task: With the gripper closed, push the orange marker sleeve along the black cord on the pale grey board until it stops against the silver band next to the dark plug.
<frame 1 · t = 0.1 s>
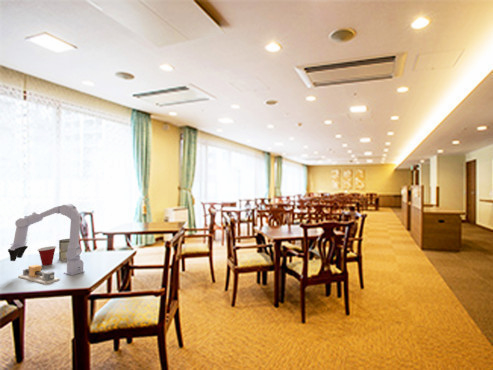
hand: (16, 259, 169), 10 cm above the table, tool pointing down, fingers open, 7 cm apart
cord board: (40, 279, 164), on the table
coffee can: (66, 258, 212), on the table
plastic cup: (46, 264, 195), on the table
marker sleeve: (34, 270, 167), point 4 cm above the table, slide at 8.0 cm
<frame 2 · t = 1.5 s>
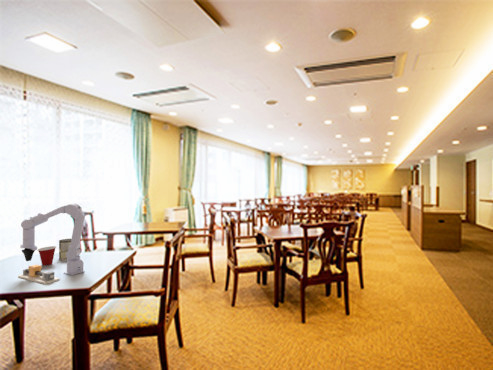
hand: (28, 260, 170), 9 cm above the table, tool pointing down, fingers closed
nothing on the table moved.
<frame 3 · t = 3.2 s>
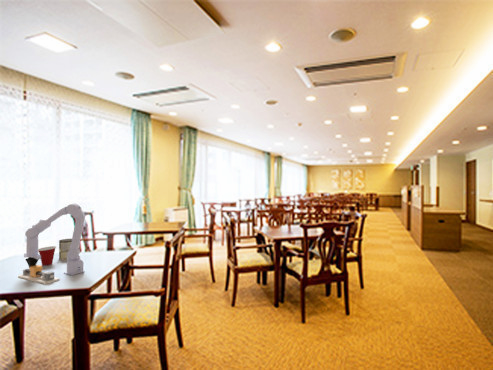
hand: (32, 269, 168), 4 cm above the table, tool pointing down, fingers closed
marker sleeve: (35, 270, 166), point 4 cm above the table, slide at 7.0 cm, touching gripper
everything else where it was.
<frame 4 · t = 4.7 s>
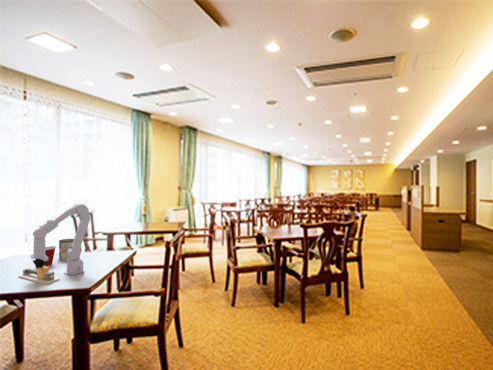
hand: (39, 271, 165), 4 cm above the table, tool pointing down, fingers closed
marker sleeve: (42, 272, 163), point 4 cm above the table, slide at -0.2 cm, touching gripper
everything else where it was.
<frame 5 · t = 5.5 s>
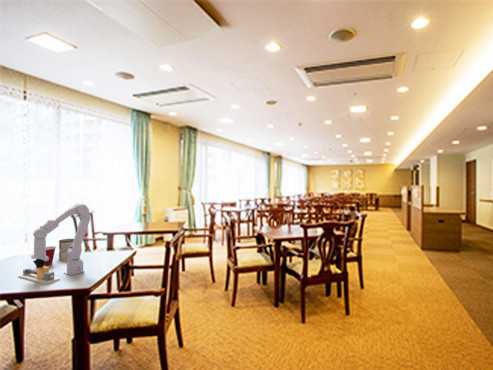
hand: (39, 271, 164), 4 cm above the table, tool pointing down, fingers closed
marker sleeve: (42, 272, 163), point 4 cm above the table, slide at -0.3 cm, touching cord board, gripper
everything else where it was.
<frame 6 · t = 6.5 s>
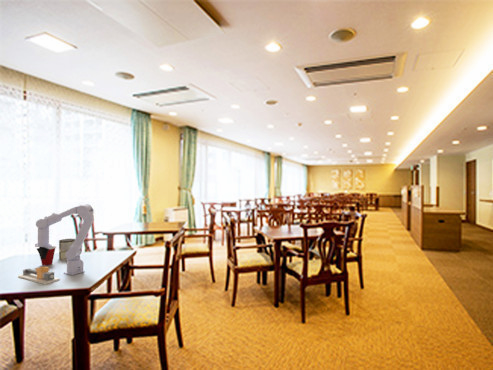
hand: (43, 259, 174), 9 cm above the table, tool pointing down, fingers closed
marker sleeve: (42, 272, 163), point 4 cm above the table, slide at -0.1 cm
everything else where it was.
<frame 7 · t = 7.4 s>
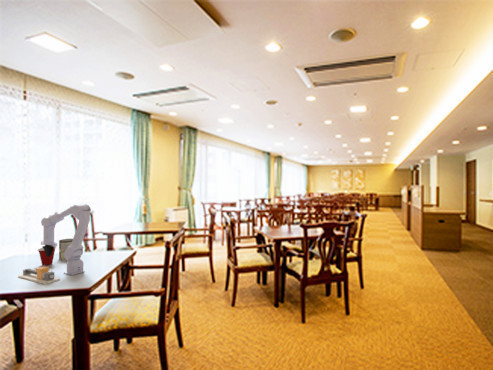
hand: (48, 256, 180), 9 cm above the table, tool pointing down, fingers closed
nothing on the table moved.
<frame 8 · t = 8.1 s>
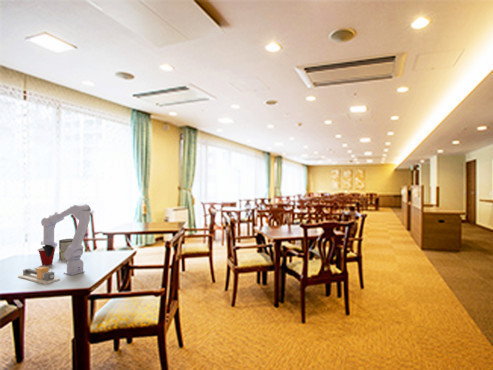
hand: (48, 256, 180), 9 cm above the table, tool pointing down, fingers closed
nothing on the table moved.
at the end: marker sleeve slide at -0.1 cm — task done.
